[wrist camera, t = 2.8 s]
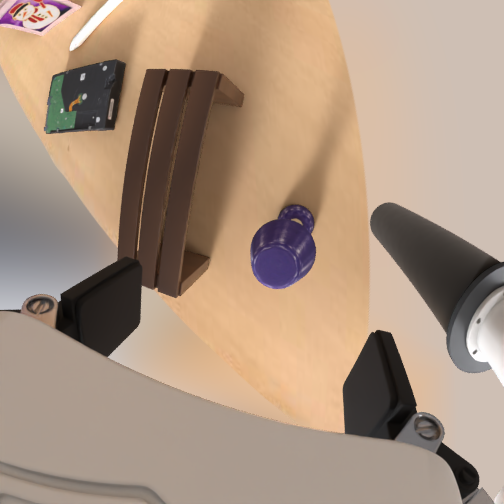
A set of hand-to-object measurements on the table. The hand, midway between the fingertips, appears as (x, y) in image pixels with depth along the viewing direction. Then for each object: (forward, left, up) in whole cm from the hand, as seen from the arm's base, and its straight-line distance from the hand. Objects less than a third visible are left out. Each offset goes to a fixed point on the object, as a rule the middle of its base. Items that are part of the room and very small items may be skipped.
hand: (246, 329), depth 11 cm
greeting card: (+50, -31, -24) cm, 63 cm away
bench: (+13, -2, -24) cm, 27 cm away
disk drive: (+34, -11, -24) cm, 43 cm away
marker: (+35, -27, -24) cm, 50 cm away
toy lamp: (0, 0, -24) cm, 24 cm away
